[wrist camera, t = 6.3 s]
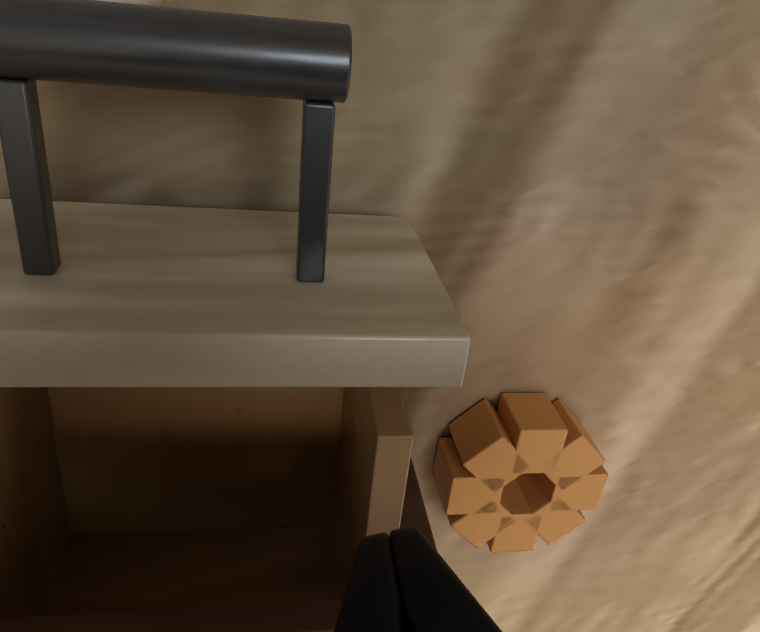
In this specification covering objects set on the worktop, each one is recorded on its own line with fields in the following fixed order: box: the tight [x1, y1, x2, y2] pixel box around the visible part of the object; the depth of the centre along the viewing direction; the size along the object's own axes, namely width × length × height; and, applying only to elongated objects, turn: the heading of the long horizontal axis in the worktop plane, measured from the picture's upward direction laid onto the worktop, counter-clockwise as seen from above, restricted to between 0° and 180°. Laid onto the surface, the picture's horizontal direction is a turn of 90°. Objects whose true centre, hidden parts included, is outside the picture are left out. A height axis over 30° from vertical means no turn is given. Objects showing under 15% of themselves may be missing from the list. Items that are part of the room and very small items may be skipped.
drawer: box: [0, 0, 471, 618], centre depth 16 cm, size 17×12×7 cm
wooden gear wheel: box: [433, 393, 608, 553], centre depth 24 cm, size 6×6×2 cm
